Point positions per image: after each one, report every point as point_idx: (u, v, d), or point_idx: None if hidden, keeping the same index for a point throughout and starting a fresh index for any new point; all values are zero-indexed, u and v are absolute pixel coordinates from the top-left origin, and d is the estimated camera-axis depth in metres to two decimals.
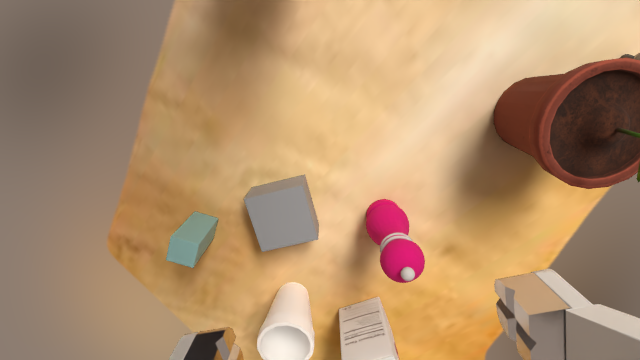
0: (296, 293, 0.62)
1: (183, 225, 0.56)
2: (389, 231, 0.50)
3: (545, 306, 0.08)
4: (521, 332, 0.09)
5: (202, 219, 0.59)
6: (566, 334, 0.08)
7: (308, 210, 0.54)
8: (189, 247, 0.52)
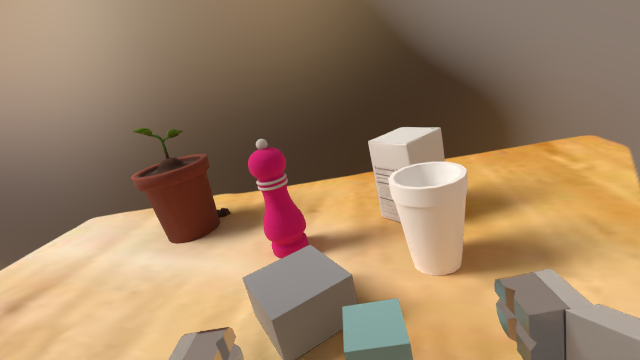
0: (407, 241, 0.45)
1: None
2: (266, 199, 0.54)
3: (545, 306, 0.08)
4: (521, 332, 0.09)
5: None
6: (566, 334, 0.08)
7: (275, 262, 0.43)
8: (355, 316, 0.25)
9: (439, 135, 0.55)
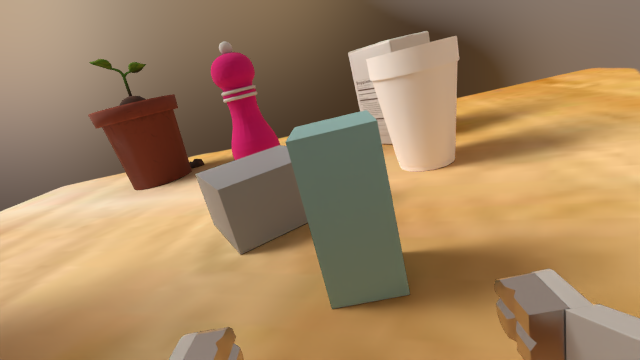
0: (391, 137, 0.38)
1: None
2: (232, 113, 0.47)
3: (545, 306, 0.08)
4: (521, 332, 0.09)
5: None
6: (565, 334, 0.08)
7: (235, 160, 0.37)
8: (309, 127, 0.19)
9: (427, 40, 0.49)
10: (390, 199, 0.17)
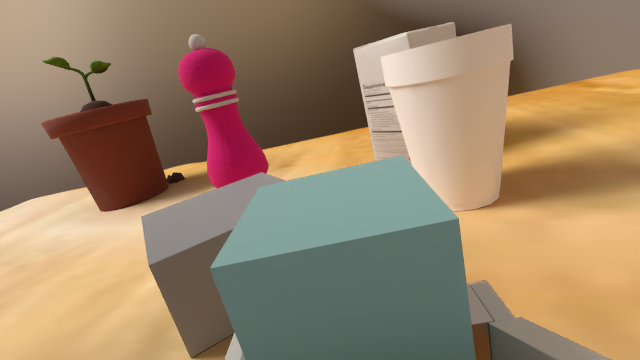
0: (412, 162, 0.28)
1: None
2: (207, 125, 0.37)
3: (471, 319, 0.08)
4: None
5: None
6: (491, 346, 0.08)
7: (200, 195, 0.27)
8: (285, 195, 0.09)
9: (453, 34, 0.39)
10: None
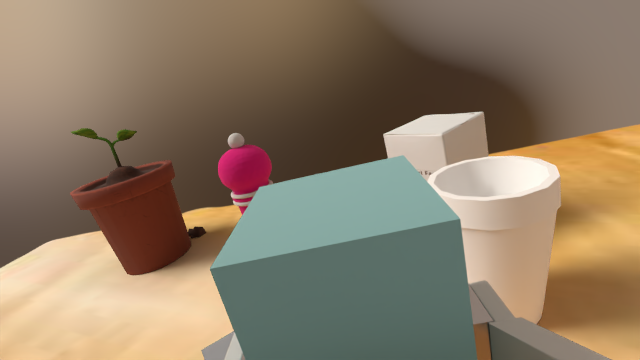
0: None
1: None
2: None
3: None
4: None
5: None
6: (491, 346, 0.08)
7: None
8: (285, 195, 0.09)
9: (483, 123, 0.40)
10: None
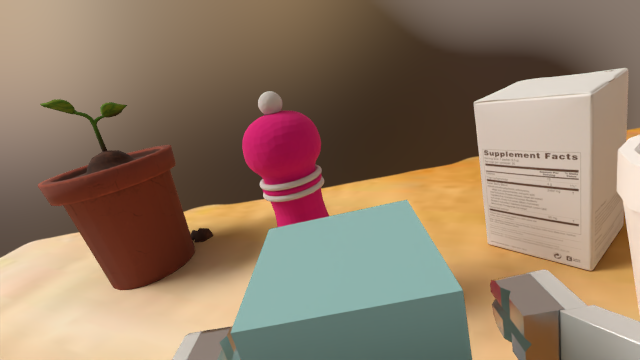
0: None
1: None
2: (280, 219, 0.26)
3: (540, 307, 0.08)
4: (516, 333, 0.09)
5: None
6: (560, 335, 0.08)
7: None
8: (295, 243, 0.09)
9: (626, 84, 0.27)
10: None
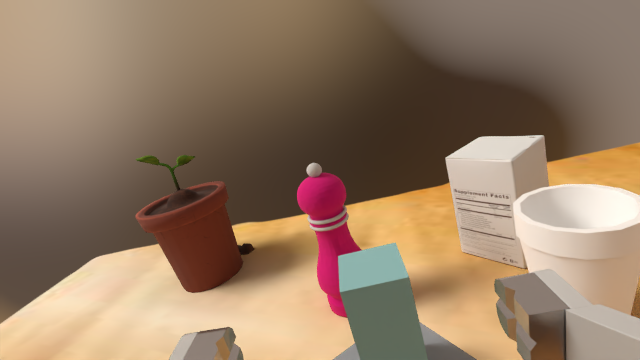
0: None
1: None
2: (321, 241, 0.41)
3: (545, 306, 0.08)
4: (521, 332, 0.09)
5: None
6: (566, 334, 0.08)
7: None
8: (352, 262, 0.24)
9: (543, 146, 0.42)
10: (419, 329, 0.22)
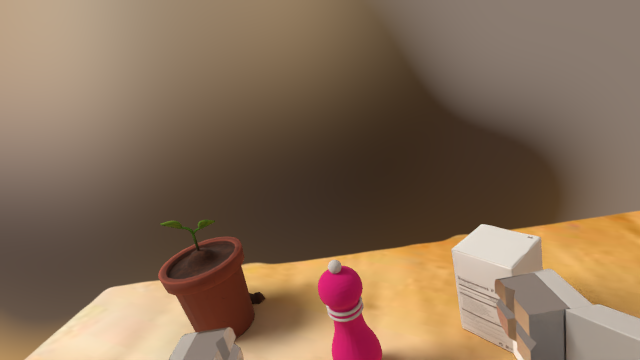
0: None
1: None
2: (338, 327, 0.45)
3: (545, 306, 0.08)
4: (521, 332, 0.09)
5: None
6: (565, 334, 0.08)
7: None
8: None
9: (540, 246, 0.46)
10: None
